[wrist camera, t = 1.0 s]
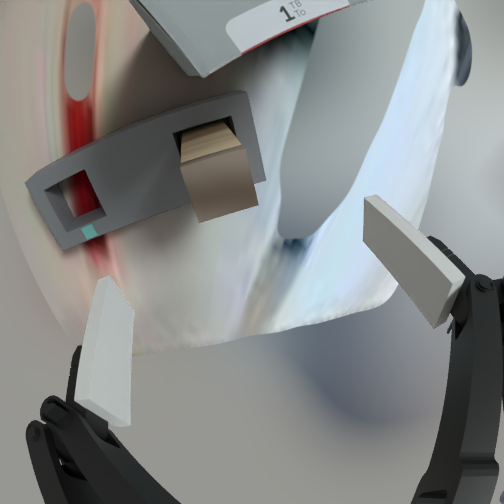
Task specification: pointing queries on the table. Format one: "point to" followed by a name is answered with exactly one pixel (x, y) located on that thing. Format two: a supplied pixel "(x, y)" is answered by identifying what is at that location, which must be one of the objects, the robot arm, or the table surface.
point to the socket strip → (137, 169)
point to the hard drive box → (225, 26)
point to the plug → (216, 171)
